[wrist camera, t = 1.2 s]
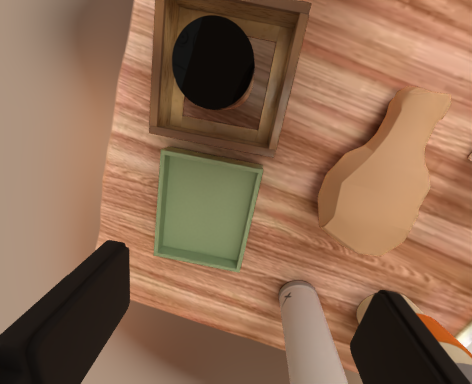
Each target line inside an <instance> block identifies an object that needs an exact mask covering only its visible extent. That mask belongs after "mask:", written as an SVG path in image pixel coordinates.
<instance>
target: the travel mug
mask: <svg viewBox="0 0 472 384" xmlns="http://www.w3.org/2000/svg"><path fill="white" fill-rule="evenodd" d="M279 303H280V310H281V318H282V325H283V333H284V340H285V347H286V355H287V361H288V369H289V377H290V384H348V382H347V379H346V376H345V373H344V370H343V367H342V364H341V361H340V358H339V356H338V353H337V350H336V347H335V344H334V341H333V338H332V335H331V333H330V330H329V327H328V324H327V321H326V318H325V315H324V312H323V310H322V307H321V304H320V301H319V298H318V295H317V292H316V290H315V288H314V287H313V286H312V285H311V284H309V283H307V282H304V281H291V282H289V283H287V284H285V285H284V286H283V287H282V288H281V289H280V291H279Z"/></svg>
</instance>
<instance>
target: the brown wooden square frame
mask: <svg viewBox="0 0 472 384" xmlns="http://www.w3.org/2000/svg"><path fill="white" fill-rule="evenodd" d="M310 8H311V3H309V2H304V1H298V0H155V15H154V36H153V56H152V77H151V97H150V117H149V125H150V127H149V133H151V134H156V135H161V136H166V137H171V138H176V139H181V140H186V141H191V142H196V143H201V144H206V145H211V146H216V147H222V148H227V149H232V150H237V151H242V152H247V153H252V154H257V155H262V156H267V157H272V158H274V155H275V151H276V149H277V145H278V141H279V137H280V133H281V129H282V125H283V120H284V116H285V112H286V108H287V104H288V100H289V96H290V92H291V88H292V84H293V80H294V76H295V72H296V67H297V63H298V59H299V55H300V51H301V47H302V43H303V39H304V35H305V31H306V27H307V23H308V18H309V12H310ZM208 15H217V16H222V17H225V18H227V19H229V20H231V21H233V22H234V23H236V24H237V25H238V26H239V27H240V28H241V29H242V30H243V31H244V33H245V34H246V35H247V37H252V38H257V39H263V40H268V41H273V42H276V47H275V52H274V57H273V61H272V66H271V71H270V76H269V80H268V85H267V90H266V95H265V99H264V104H263V109H262V114H261V118H260V123H259V128H258V130H255V129H250V128H245V127H240V126H235V125H230V124H224V123H219V122H214V121H209V120H204V119H199V118H194V117H189V116H184V115H183V110H184V100H185V96H184V94H183V93H182V92H181V90H180V89H179V87H178V85H177V83H176V81H175V78H174V74H173V70H172V53H173V48H174V45H175V42H176V40H177V38H178V36H179V34H180V33H181V31H182V30H183V29H184V28H185V27H186V26H187V25H188V24H189V23H190V22H192V21H193V20H195V19H197V18H200V17H203V16H208Z"/></svg>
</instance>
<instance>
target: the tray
mask: <svg viewBox="0 0 472 384" xmlns="http://www.w3.org/2000/svg"><path fill="white" fill-rule="evenodd" d="M262 174H263V166H262V165H260V164H255V163H250V162H245V161H240V160H235V159H230V158H225V157H220V156H215V155H210V154H204V153H199V152H194V151H189V150H184V149H179V148H174V147H166V148H164V149H161V155H160V169H159V184H158V199H157V213H156V228H155V242H154V256H159V257H164V258H169V259H174V260H179V261H184V262H189V263H194V264H199V265H204V266H209V267H214V268H219V269H224V270H229V271H234V272H240V268H241V264H242V260H243V255H244V251H245V247H246V242H247V238H248V234H249V230H250V225H251V221H252V217H253V212H254V208H255V204H256V199H257V195H258V191H259V186H260V182H261V178H262Z"/></svg>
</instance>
